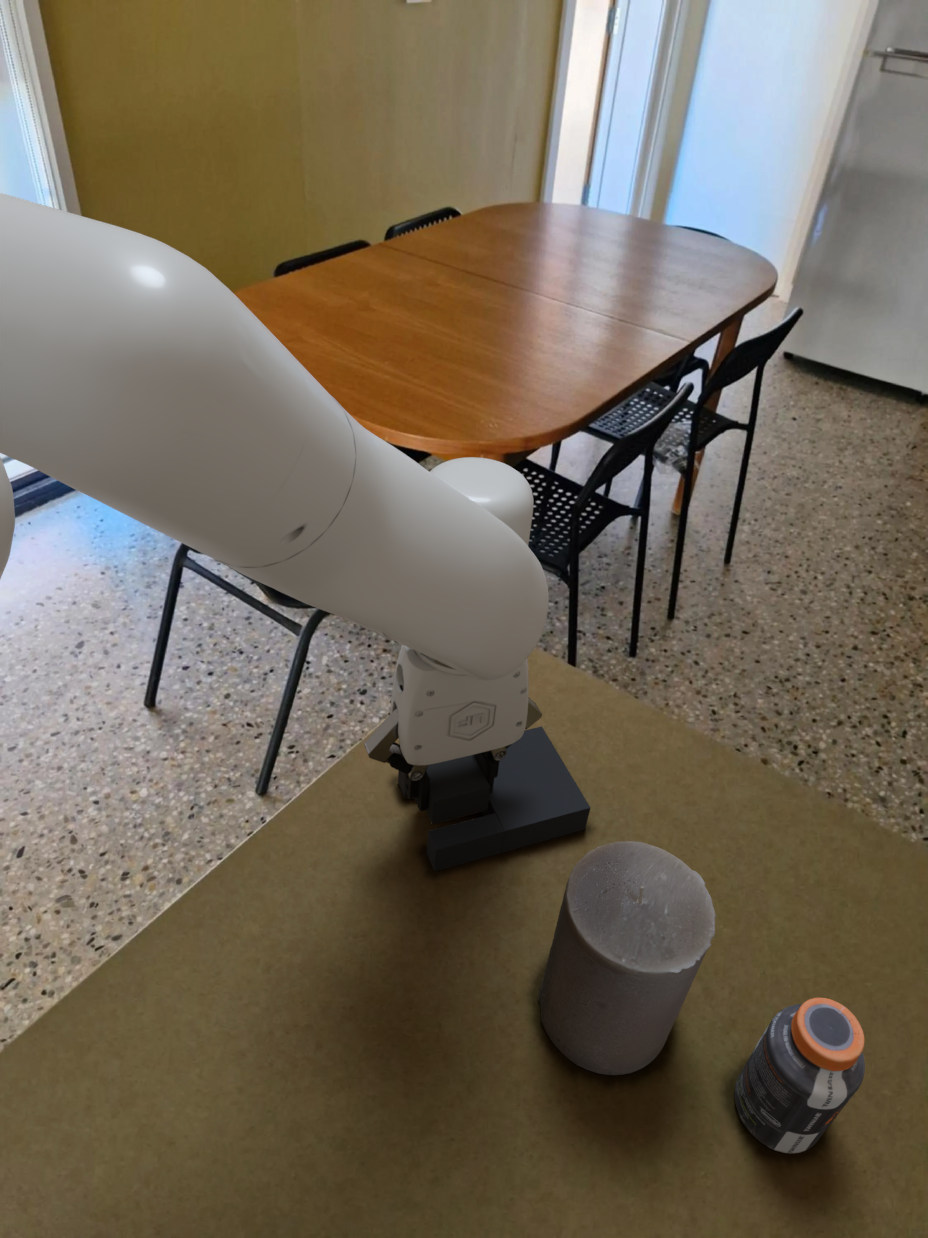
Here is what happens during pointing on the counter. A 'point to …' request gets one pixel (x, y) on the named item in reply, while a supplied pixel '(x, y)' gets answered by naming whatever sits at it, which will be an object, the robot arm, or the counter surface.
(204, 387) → the robot arm
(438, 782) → the small pad
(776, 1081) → the pill bottle
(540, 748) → the large pad
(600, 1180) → the counter surface
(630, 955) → the pillar candle
